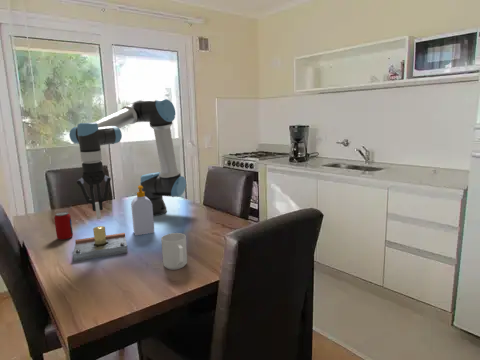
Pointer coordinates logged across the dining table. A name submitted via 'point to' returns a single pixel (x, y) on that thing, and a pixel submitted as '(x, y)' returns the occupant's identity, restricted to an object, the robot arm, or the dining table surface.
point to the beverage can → (63, 225)
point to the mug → (174, 250)
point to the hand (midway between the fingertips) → (98, 217)
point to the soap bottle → (142, 214)
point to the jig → (89, 250)
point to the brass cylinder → (100, 236)
